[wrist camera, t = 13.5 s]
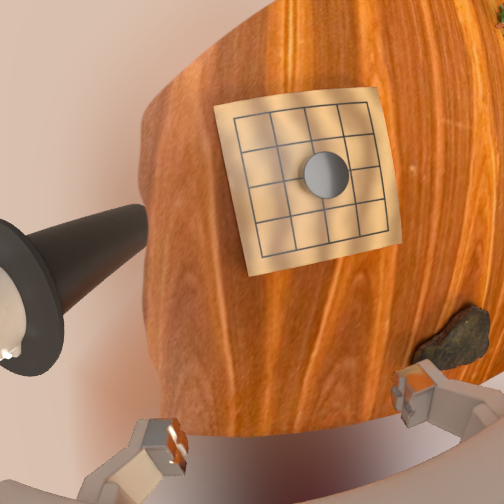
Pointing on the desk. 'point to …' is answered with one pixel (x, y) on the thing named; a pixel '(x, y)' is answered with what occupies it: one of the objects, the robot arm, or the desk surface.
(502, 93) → the desk surface
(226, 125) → the go board
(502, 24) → the figurine
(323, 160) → the game stone
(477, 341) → the stone
